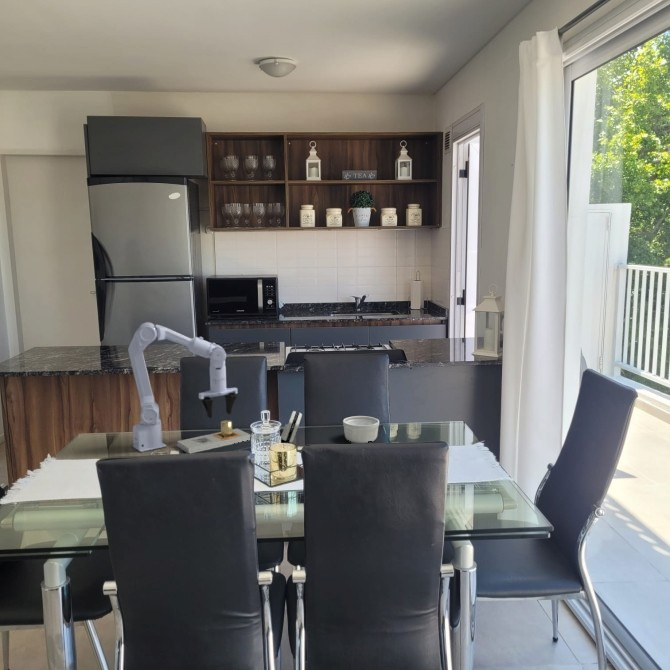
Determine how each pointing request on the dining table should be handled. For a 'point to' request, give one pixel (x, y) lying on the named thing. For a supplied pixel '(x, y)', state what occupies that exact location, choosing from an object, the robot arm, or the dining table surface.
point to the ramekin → (361, 429)
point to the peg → (226, 429)
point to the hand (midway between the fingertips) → (219, 415)
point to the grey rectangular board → (212, 441)
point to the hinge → (289, 429)
